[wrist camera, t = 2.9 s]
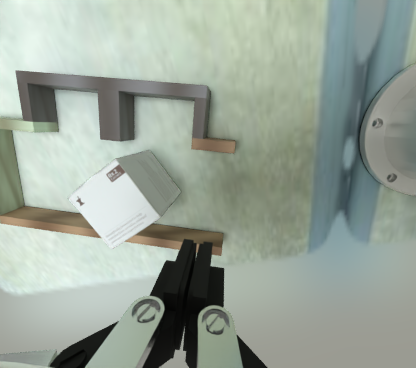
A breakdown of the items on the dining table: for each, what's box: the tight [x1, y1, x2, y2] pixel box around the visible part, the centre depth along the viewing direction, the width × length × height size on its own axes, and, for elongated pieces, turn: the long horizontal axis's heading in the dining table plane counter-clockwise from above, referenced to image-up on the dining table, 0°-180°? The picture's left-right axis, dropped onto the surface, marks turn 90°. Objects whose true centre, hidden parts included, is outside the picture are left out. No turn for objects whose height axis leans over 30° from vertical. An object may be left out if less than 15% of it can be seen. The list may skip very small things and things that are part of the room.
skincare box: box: [68, 150, 181, 249], centre depth 20 cm, size 6×6×7 cm
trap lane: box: [0, 70, 236, 256], centre depth 22 cm, size 27×16×3 cm, turn 85°
